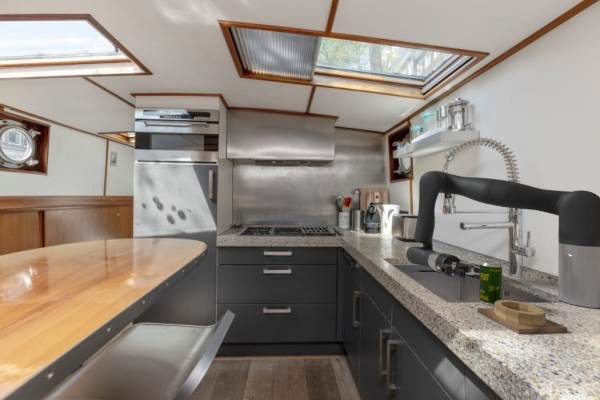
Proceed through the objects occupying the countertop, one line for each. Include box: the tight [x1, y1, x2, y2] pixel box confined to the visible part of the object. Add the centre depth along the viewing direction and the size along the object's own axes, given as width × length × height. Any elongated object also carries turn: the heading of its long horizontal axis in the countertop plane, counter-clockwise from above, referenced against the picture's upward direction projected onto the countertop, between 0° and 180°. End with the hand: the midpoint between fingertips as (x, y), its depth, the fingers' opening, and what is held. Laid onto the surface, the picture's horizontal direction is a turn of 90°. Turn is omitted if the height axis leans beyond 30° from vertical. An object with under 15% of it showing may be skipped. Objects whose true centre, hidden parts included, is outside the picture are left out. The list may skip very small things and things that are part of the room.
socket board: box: [477, 299, 568, 334], centre depth 67 cm, size 12×12×4 cm
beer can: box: [478, 259, 503, 307], centre depth 79 cm, size 5×5×12 cm
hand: (477, 274), depth 84 cm, fingers open, 8 cm apart
